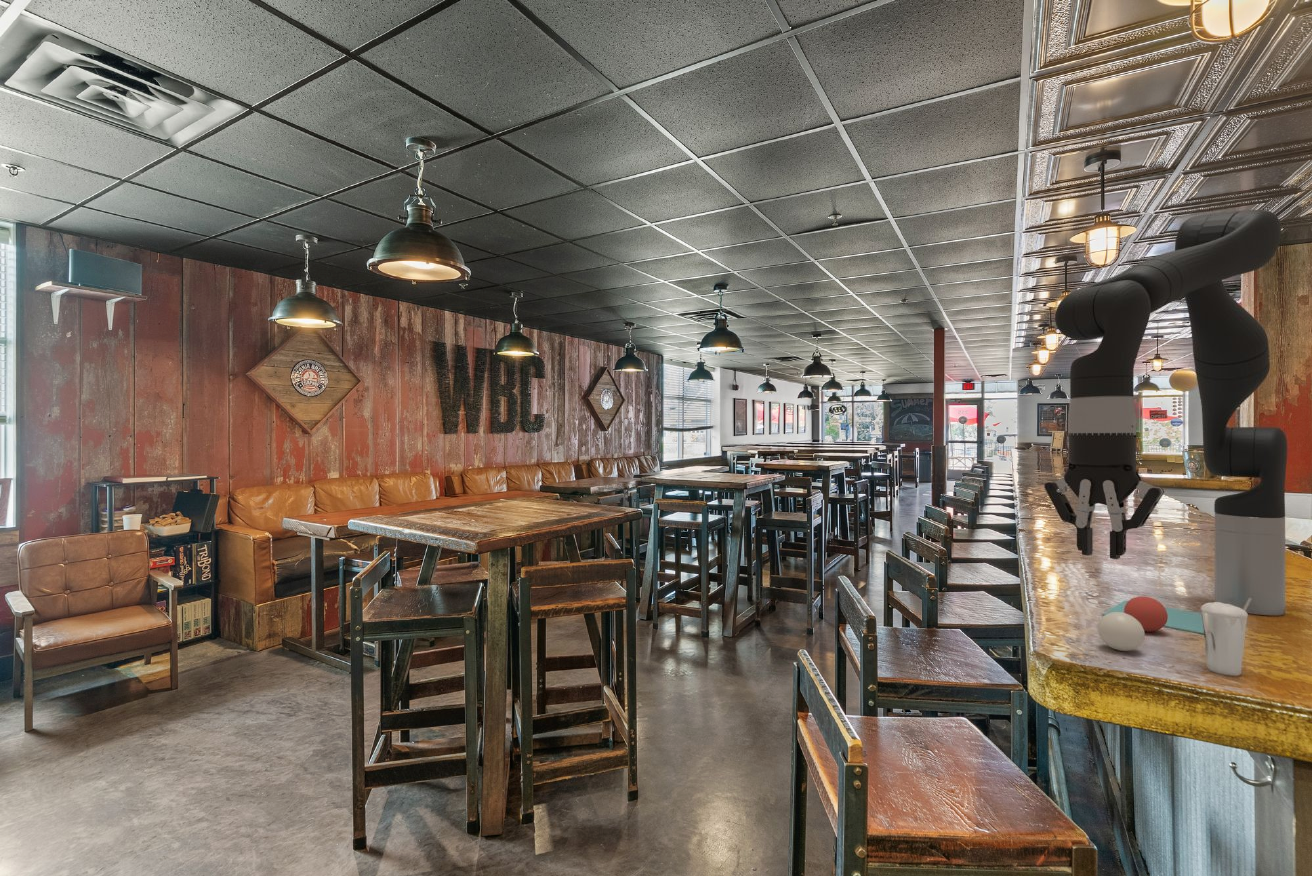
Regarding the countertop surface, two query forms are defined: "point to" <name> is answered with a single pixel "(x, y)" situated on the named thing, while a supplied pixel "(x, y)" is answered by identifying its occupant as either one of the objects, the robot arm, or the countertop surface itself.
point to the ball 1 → (1121, 631)
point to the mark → (1174, 618)
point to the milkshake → (1224, 636)
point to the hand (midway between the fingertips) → (1101, 555)
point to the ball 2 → (1147, 612)
